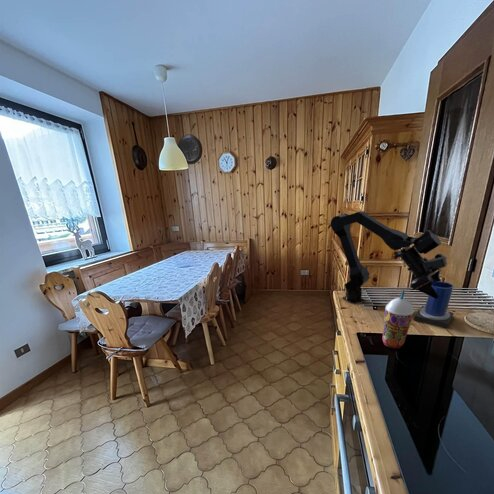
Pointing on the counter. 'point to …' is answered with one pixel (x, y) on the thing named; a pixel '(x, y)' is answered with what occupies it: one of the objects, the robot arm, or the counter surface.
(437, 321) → the scale
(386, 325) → the smoothie
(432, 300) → the tumbler
